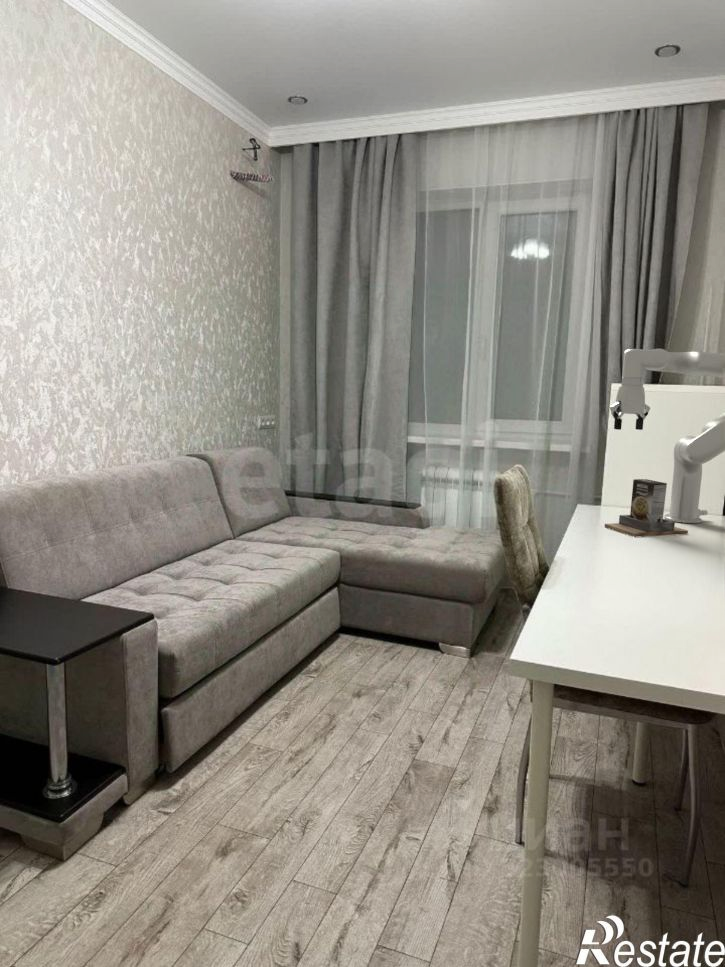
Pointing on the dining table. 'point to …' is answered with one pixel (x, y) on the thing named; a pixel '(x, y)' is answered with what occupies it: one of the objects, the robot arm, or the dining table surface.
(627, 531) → the slot board
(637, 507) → the coffee box
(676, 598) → the dining table surface
